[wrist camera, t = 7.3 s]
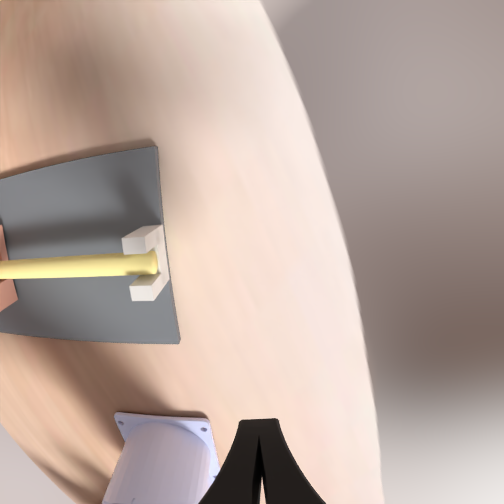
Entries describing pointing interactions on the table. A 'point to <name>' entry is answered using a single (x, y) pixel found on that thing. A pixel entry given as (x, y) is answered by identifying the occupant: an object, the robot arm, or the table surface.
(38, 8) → the table surface
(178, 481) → the robot arm
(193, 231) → the table surface
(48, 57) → the table surface
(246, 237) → the table surface
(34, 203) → the cord rig
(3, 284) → the marker sleeve
